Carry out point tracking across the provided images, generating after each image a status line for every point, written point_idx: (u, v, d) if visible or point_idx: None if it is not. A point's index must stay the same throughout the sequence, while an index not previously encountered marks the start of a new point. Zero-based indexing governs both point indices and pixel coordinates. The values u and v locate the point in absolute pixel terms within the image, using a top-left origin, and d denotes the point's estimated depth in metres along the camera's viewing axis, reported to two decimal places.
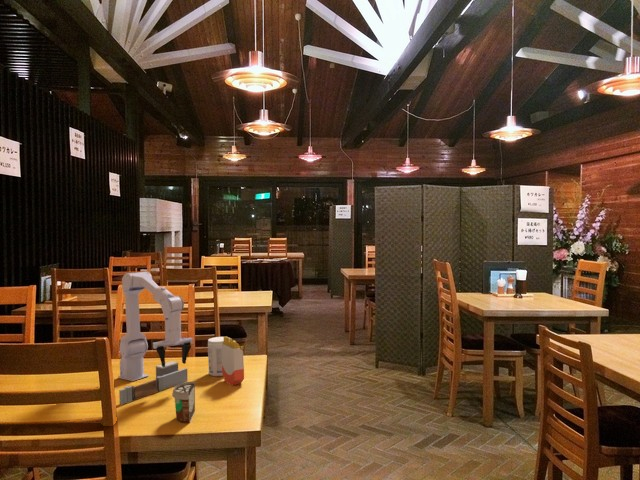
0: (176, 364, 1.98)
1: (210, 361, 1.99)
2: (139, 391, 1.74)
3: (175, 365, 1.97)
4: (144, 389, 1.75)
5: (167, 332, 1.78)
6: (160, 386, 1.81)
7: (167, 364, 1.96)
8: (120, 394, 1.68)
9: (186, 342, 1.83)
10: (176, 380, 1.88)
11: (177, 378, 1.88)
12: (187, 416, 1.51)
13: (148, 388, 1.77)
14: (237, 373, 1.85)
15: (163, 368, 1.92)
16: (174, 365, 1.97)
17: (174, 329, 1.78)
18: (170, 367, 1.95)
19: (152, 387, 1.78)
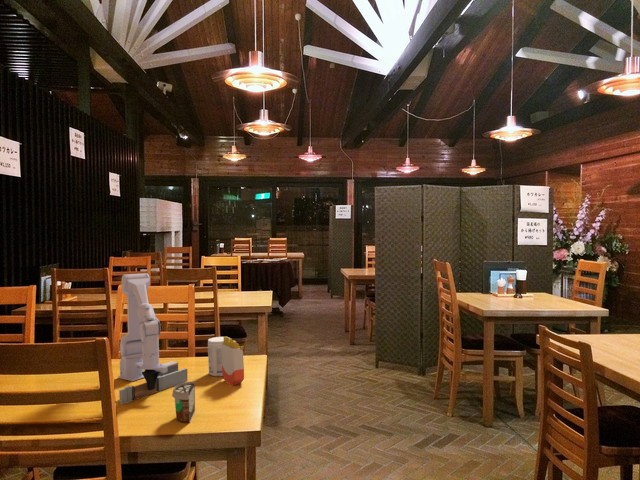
0: (176, 364, 1.98)
1: (210, 361, 1.99)
2: (139, 391, 1.74)
3: (175, 365, 1.97)
4: (144, 389, 1.75)
5: None
6: (160, 386, 1.81)
7: (167, 364, 1.96)
8: (120, 394, 1.68)
9: (160, 370, 1.74)
10: (176, 380, 1.88)
11: (177, 378, 1.88)
12: (187, 416, 1.51)
13: None
14: (237, 373, 1.85)
15: None
16: (174, 365, 1.97)
17: (149, 354, 1.74)
18: (170, 367, 1.95)
19: None
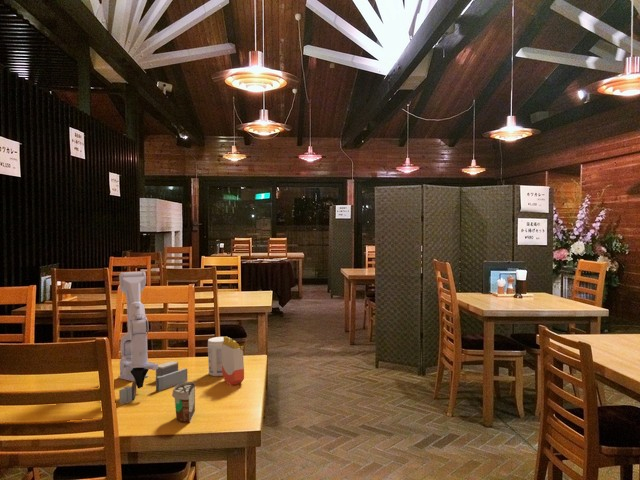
0: (176, 364, 1.98)
1: (210, 361, 1.99)
2: None
3: (175, 365, 1.97)
4: (135, 388, 1.76)
5: (131, 354, 1.78)
6: (160, 386, 1.81)
7: (167, 364, 1.96)
8: (120, 394, 1.68)
9: (150, 367, 1.77)
10: (176, 380, 1.88)
11: (177, 378, 1.88)
12: (187, 416, 1.51)
13: (135, 387, 1.78)
14: (237, 373, 1.85)
15: (163, 368, 1.92)
16: (174, 365, 1.97)
17: (136, 352, 1.76)
18: (170, 367, 1.95)
19: None
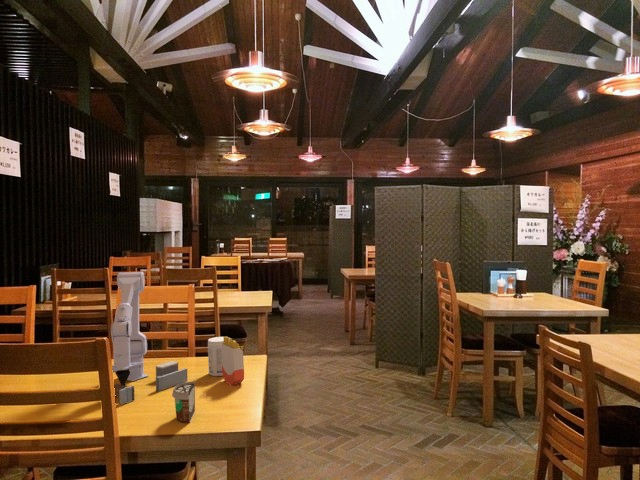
0: (176, 364, 1.98)
1: (210, 361, 1.99)
2: None
3: (175, 365, 1.97)
4: None
5: (116, 357, 1.74)
6: (160, 386, 1.81)
7: (167, 364, 1.96)
8: (120, 394, 1.68)
9: (136, 366, 1.79)
10: (176, 380, 1.88)
11: (177, 378, 1.88)
12: (187, 416, 1.51)
13: None
14: (237, 373, 1.85)
15: (163, 368, 1.92)
16: (174, 365, 1.97)
17: (116, 355, 1.74)
18: (170, 367, 1.95)
19: None
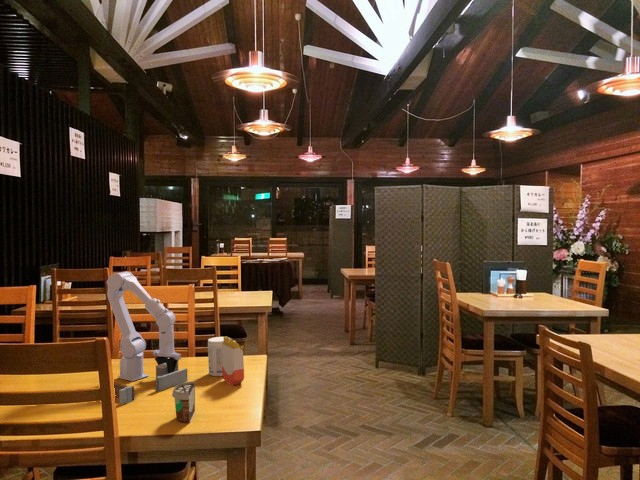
0: (176, 364, 1.98)
1: (210, 361, 1.99)
2: None
3: None
4: None
5: None
6: (160, 386, 1.81)
7: None
8: (120, 394, 1.68)
9: (174, 357, 1.93)
10: (176, 380, 1.88)
11: (177, 378, 1.88)
12: (187, 416, 1.51)
13: None
14: (237, 373, 1.85)
15: (163, 367, 1.92)
16: None
17: (171, 341, 1.94)
18: None
19: None
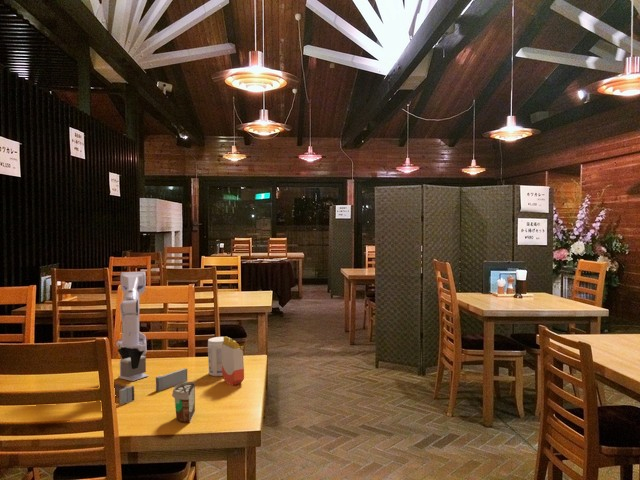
0: (143, 358, 1.84)
1: (210, 361, 1.99)
2: None
3: (142, 359, 1.83)
4: None
5: None
6: (160, 386, 1.81)
7: None
8: (120, 394, 1.68)
9: (138, 348, 1.79)
10: (176, 380, 1.88)
11: (177, 378, 1.88)
12: (187, 416, 1.51)
13: None
14: (237, 373, 1.85)
15: (129, 361, 1.78)
16: (141, 359, 1.83)
17: (126, 332, 1.78)
18: None
19: None
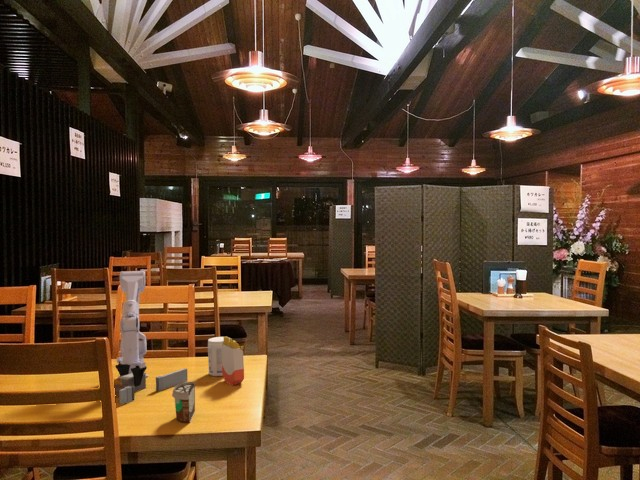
0: (143, 374, 1.84)
1: (210, 361, 1.99)
2: None
3: None
4: None
5: None
6: (160, 386, 1.81)
7: None
8: (120, 394, 1.68)
9: (138, 365, 1.79)
10: (176, 380, 1.88)
11: (177, 378, 1.88)
12: (187, 416, 1.51)
13: None
14: (237, 373, 1.85)
15: (129, 379, 1.78)
16: None
17: (126, 349, 1.79)
18: None
19: None
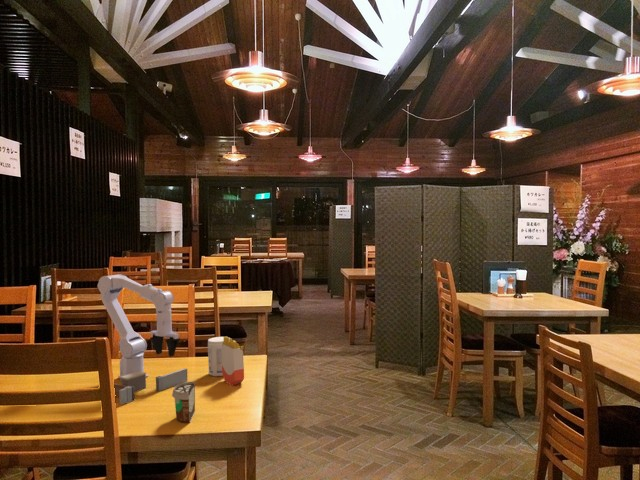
0: (143, 374, 1.84)
1: (210, 361, 1.99)
2: None
3: (142, 375, 1.83)
4: None
5: None
6: (160, 386, 1.81)
7: (133, 375, 1.82)
8: (120, 394, 1.68)
9: (172, 336, 1.91)
10: (176, 380, 1.88)
11: (177, 378, 1.88)
12: (187, 416, 1.51)
13: None
14: (237, 373, 1.85)
15: (129, 379, 1.78)
16: (141, 376, 1.83)
17: (167, 321, 1.91)
18: (136, 378, 1.81)
19: None
